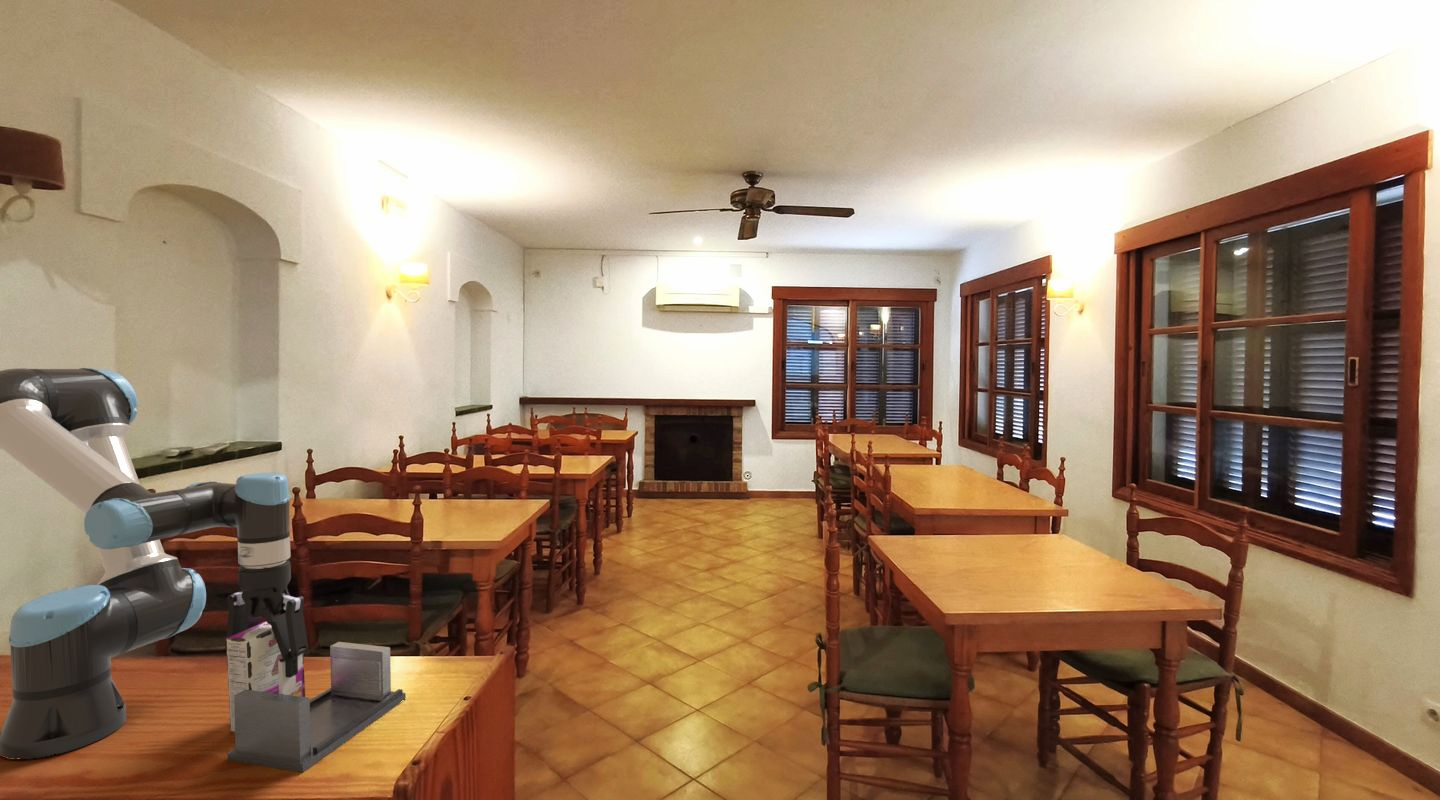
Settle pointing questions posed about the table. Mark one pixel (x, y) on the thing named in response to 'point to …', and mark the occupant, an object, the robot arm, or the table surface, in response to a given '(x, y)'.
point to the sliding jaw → (360, 671)
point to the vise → (299, 726)
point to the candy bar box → (256, 664)
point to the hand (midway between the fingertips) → (267, 691)
